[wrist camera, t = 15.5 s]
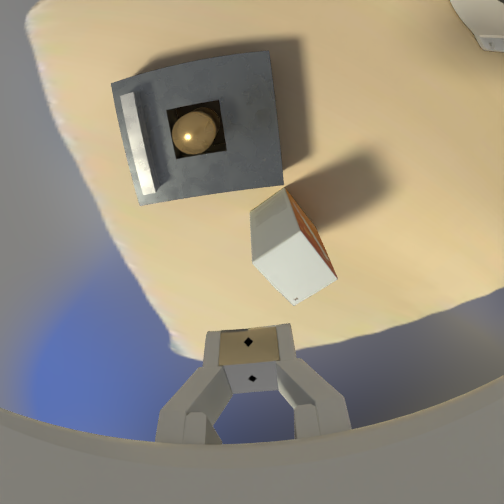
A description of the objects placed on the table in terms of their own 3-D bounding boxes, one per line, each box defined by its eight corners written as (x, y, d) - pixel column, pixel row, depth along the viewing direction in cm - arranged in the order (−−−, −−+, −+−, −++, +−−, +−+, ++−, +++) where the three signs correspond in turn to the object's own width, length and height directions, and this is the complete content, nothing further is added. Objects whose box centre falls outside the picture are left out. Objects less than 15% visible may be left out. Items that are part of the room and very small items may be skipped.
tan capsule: (217, 104, 34) (210, 109, 27) (222, 137, 36) (217, 150, 29) (183, 110, 34) (168, 118, 27) (189, 142, 36) (176, 157, 29)
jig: (265, 55, 30) (270, 48, 24) (279, 172, 39) (285, 190, 33) (126, 82, 31) (103, 84, 25) (150, 191, 40) (134, 212, 34)
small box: (316, 226, 43) (339, 280, 32) (281, 249, 45) (293, 308, 34) (284, 185, 40) (301, 229, 29) (248, 211, 42) (250, 264, 31)
